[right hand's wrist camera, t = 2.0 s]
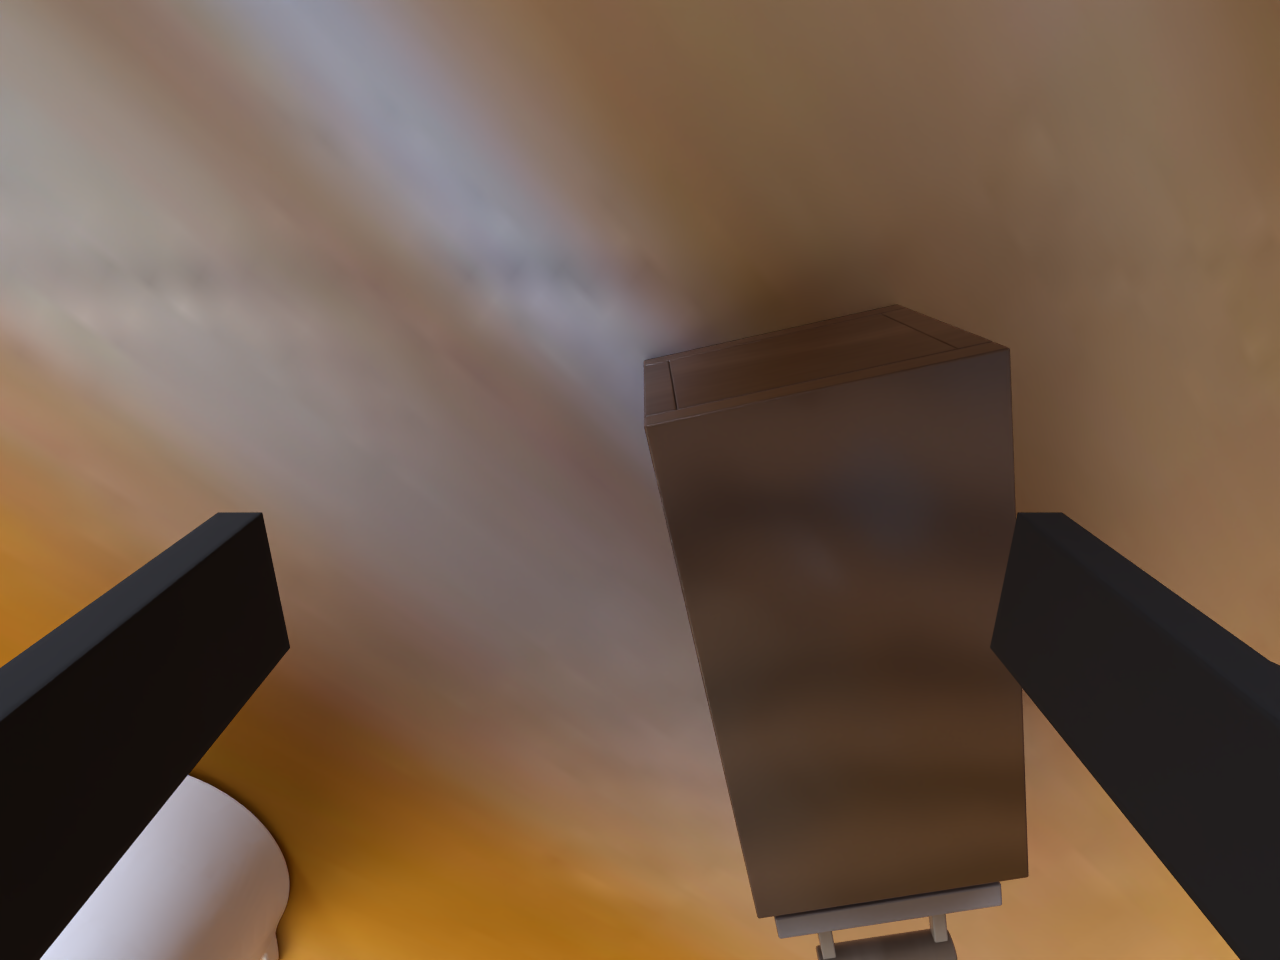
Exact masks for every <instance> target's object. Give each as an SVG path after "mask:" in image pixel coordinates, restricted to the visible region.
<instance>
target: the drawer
mask: <svg viewBox="0 0 1280 960" xmlns="http://www.w3.org/2000/svg"><path fill="white" fill-rule="evenodd" d="M1000 905H1002V897H1001V884H1000V882H992V883H986V884H979V885H973V886H966V887H960V888H953V889H947V890H940V891H934V892H927V893H921V894H914V895H908V896H901V897H895V898H888V899H882V900H875V901H869V902H862V903H856V904H849V905H843V906H836V907H830V908H823V909H817V910H810V911H804V912H797V913H791V914H784V915H778V916H774V918H775V922H776V927H777V932H778V936H779V938H781V939H782V938H788V937H795V936H802V935H808V934H815V933H818V937H819V943H820V945H819V946H816V952H817V957H818V960H957V954H956V950H955V947H954V944H953V941H952V938H951V936H950V934H949V932H948V930H947V925H946V914H947V913H954V912H960V911H967V910H974V909H980V908H987V907H993V906H1000ZM927 916H929V922H930V929H926V930H919V931H912V932H906V933H899V934H892V935H885V936H879V937H872V938H865V939H859V940H852V941H845V942H839V943H834V941H833V936H832V931H835V930H841V929H848V928H855V927H861V926H868V925H874V924H881V923H888V922H894V921H901V920H907V919H914V918H921V917H927Z"/></svg>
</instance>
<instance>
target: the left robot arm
mask: <svg viewBox="0 0 1280 960" xmlns="http://www.w3.org/2000/svg"><path fill="white" fill-rule="evenodd" d="M289 891H290V881H289V873H288V868H287V865H286V861H285V859H284V856H283V854H282V852H281V850H280V848H279V846H278V844H277V843H276V841H275V839H274V838H273V837H272V835H271V834H270V832H269V831H268V830H267V829H266V827H265V826H264V825H263V824H262V823H261V822H260V821H259V820H258V819H257V818H256V817H255V816H254V815H253V814H252V813H251V812H250V811H249V810H248V809H246V808H245V807H244V806H243V805H241V804H240V803H239V802H237V801H236V800H235V799H233V798H232V797H230V796H229V795H227V794H226V793H224V792H222V791H221V790H219V789H217V788H215V787H213V786H212V785H210V784H208V783H205V782H203V781H201V780H199V779H197V778H194V777H192V776H189V775H187V777H186V778H185V779H184V780H183V782H182V783H181V784H180V785H179V787H178V788H177V789H176V790H175V792H174V793H173V794H172V795H171V797H170V798H169V799H168V800H167V802H166V803H165V804H164V805H163V807H162V808H161V809H160V810H159V812H158V813H157V814H156V815H155V817H154V818H153V819H152V820H151V822H150V823H149V824H148V825H147V827H146V828H145V829H144V830H143V832H142V833H141V834H140V835H139V837H138V838H137V839H136V840H135V842H134V843H133V844H132V845H131V847H130V848H129V849H128V850H127V852H126V853H125V854H124V855H123V857H122V858H121V859H120V860H119V861H118V863H117V864H116V865H115V866H114V868H113V869H112V870H111V871H110V873H109V874H108V875H107V876H106V878H105V879H104V880H103V881H102V883H101V884H100V885H99V886H98V888H97V889H96V890H95V891H94V893H93V894H92V895H91V896H90V898H89V899H88V900H87V901H86V903H85V904H84V905H83V906H82V908H81V909H80V910H79V911H78V913H77V914H76V915H75V916H74V918H73V919H72V920H71V921H70V923H69V924H68V925H67V926H66V928H65V929H64V930H63V931H62V933H61V934H60V935H59V936H58V938H57V939H56V940H55V941H54V943H53V944H52V945H51V946H50V947H49V949H48V950H47V951H46V952H45V954H44V955H43V956H42V957H41V959H40V960H279V952H278V944H277V939H276V934H275V933H276V929H277V926H278V923H279V921H280V919H281V917H282V915H283V913H284V910H285V908H286V905H287V902H288V898H289Z"/></svg>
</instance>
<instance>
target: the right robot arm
mask: <svg viewBox="0 0 1280 960" xmlns="http://www.w3.org/2000/svg"><path fill="white" fill-rule="evenodd" d="M289 648H290V645H289V640H288V635H287V630H286V626H285V621H284V616H283V611H282V606H281V601H280V596H279V592H278V587H277V582H276V577H275V572H274V567H273V562H272V558H271V553H270V548H269V543H268V538H267V533H266V528H265V524H264V519H263V514H262V513H217V514H215V515H214V516H213V517H211V518H210V519H208V520H207V521H206V522H204V523H203V524H201V525H200V526H199V527H197V528H196V529H194V530H193V531H192V532H190V533H189V534H187V535H186V536H185V537H183V538H182V539H180V540H179V541H178V542H176V543H175V544H173V545H172V546H171V547H169V548H168V549H166V550H165V551H164V552H162V553H161V554H159V555H158V556H157V557H155V558H154V559H152V560H151V561H150V562H148V563H147V564H145V565H144V566H143V567H141V568H140V569H138V570H137V571H136V572H134V573H133V574H131V575H130V576H129V577H127V578H126V579H124V580H123V581H122V582H120V583H119V584H117V585H116V586H115V587H113V588H112V589H110V590H109V591H108V592H106V593H105V594H103V595H102V596H101V597H99V598H98V599H96V600H95V601H94V602H92V603H91V604H89V605H88V606H87V607H85V608H84V609H82V610H81V611H80V612H78V613H77V614H75V615H74V616H73V617H71V618H70V619H68V620H67V621H66V622H64V623H63V624H61V625H60V626H59V627H57V628H56V629H54V630H53V631H52V632H50V633H49V634H47V635H46V636H45V637H43V638H42V639H40V640H39V641H38V642H36V643H35V644H33V645H32V646H31V647H29V648H28V649H26V650H25V651H24V652H22V653H21V654H19V655H18V656H17V657H15V658H14V659H12V660H11V661H10V662H8V663H7V664H5V665H4V666H3V667H1V668H0V960H40V959H41V957H42V956H43V955H44V954H45V952H46V951H47V950H48V949H49V947H50V946H51V945H52V944H53V943H54V941H55V940H56V939H57V938H58V936H59V935H60V934H61V933H62V931H63V930H64V929H65V928H66V926H67V925H68V924H69V923H70V921H71V920H72V919H73V918H74V916H75V915H76V914H77V913H78V911H79V910H80V909H81V908H82V906H83V905H84V904H85V903H86V901H87V900H88V899H89V898H90V896H91V895H92V894H93V893H94V891H95V890H96V889H97V888H98V886H99V885H100V884H101V883H102V881H103V880H104V879H105V878H106V876H107V875H108V874H109V873H110V871H111V870H112V869H113V868H114V866H115V865H116V864H117V863H118V861H119V860H120V859H121V858H122V857H123V855H124V854H125V853H126V852H127V850H128V849H129V848H130V847H131V845H132V844H133V843H134V842H135V840H136V839H137V838H138V837H139V835H140V834H141V833H142V832H143V830H144V829H145V828H146V827H147V825H148V824H149V823H150V822H151V820H152V819H153V818H154V817H155V815H156V814H157V813H158V812H159V810H160V809H161V808H162V807H163V805H164V804H165V803H166V802H167V800H168V799H169V798H170V797H171V795H172V794H173V793H174V792H175V790H176V789H177V788H178V787H179V785H180V784H181V783H182V782H183V780H184V779H185V778H186V777H187V775H188V774H189V773H190V772H191V771H192V769H193V768H194V767H195V766H196V764H197V763H198V762H199V761H200V759H201V758H202V757H203V756H204V754H205V753H206V752H207V751H208V749H209V748H210V747H211V746H212V744H213V743H214V742H215V741H216V739H217V738H218V737H219V736H220V734H221V733H222V732H223V731H224V729H225V728H226V727H227V726H228V724H229V723H230V722H231V721H232V719H233V718H234V717H235V716H236V714H237V713H238V712H239V711H240V709H241V708H242V707H243V706H244V704H245V703H246V702H247V701H248V699H249V698H250V697H251V696H252V694H253V693H254V692H255V691H256V689H257V688H258V687H259V686H260V684H261V683H262V682H263V681H264V680H265V678H266V677H267V676H268V675H269V673H270V672H271V671H272V670H273V668H274V667H275V666H276V665H277V663H278V662H279V661H280V660H281V658H282V657H283V656H284V655H285V653H286V652H287V651H288V650H289ZM990 648H991V650H992V651H993V652H994V653H995V655H996V656H997V657H998V658H999V660H1000V661H1001V662H1002V663H1003V665H1004V666H1005V667H1006V668H1007V670H1008V671H1009V672H1010V673H1011V675H1012V676H1013V677H1014V678H1015V680H1016V681H1017V682H1018V683H1019V685H1020V686H1021V687H1022V688H1023V689H1024V691H1025V692H1026V693H1027V694H1028V696H1029V697H1030V698H1031V699H1032V701H1033V702H1034V703H1035V704H1036V706H1037V707H1038V708H1039V709H1040V711H1041V712H1042V713H1043V714H1044V716H1045V717H1046V718H1047V719H1048V721H1049V722H1050V723H1051V724H1052V726H1053V727H1054V728H1055V729H1056V731H1057V732H1058V733H1059V734H1060V736H1061V737H1062V738H1063V739H1064V741H1065V742H1066V743H1067V744H1068V746H1069V747H1070V748H1071V749H1072V751H1073V752H1074V753H1075V754H1076V756H1077V757H1078V758H1079V759H1080V761H1081V762H1082V763H1083V764H1084V766H1085V767H1086V768H1087V769H1088V771H1089V772H1090V773H1091V774H1092V775H1093V777H1094V778H1095V779H1096V780H1097V782H1098V783H1099V784H1100V785H1101V787H1102V788H1103V789H1104V790H1105V792H1106V793H1107V794H1108V795H1109V797H1110V798H1111V799H1112V800H1113V802H1114V803H1115V804H1116V805H1117V807H1118V808H1119V809H1120V810H1121V812H1122V813H1123V814H1124V815H1125V817H1126V818H1127V819H1128V820H1129V822H1130V823H1131V824H1132V825H1133V827H1134V828H1135V829H1136V830H1137V832H1138V833H1139V834H1140V835H1141V837H1142V838H1143V839H1144V840H1145V842H1146V843H1147V844H1148V845H1149V847H1150V848H1151V849H1152V850H1153V852H1154V853H1155V854H1156V855H1157V857H1158V858H1159V859H1160V860H1161V861H1162V863H1163V864H1164V865H1165V866H1166V868H1167V869H1168V870H1169V871H1170V873H1171V874H1172V875H1173V876H1174V878H1175V879H1176V880H1177V881H1178V883H1179V884H1180V885H1181V886H1182V888H1183V889H1184V890H1185V891H1186V893H1187V894H1188V895H1189V896H1190V898H1191V899H1192V900H1193V901H1194V903H1195V904H1196V905H1197V906H1198V908H1199V909H1200V910H1201V911H1202V913H1203V914H1204V915H1205V916H1206V918H1207V919H1208V920H1209V921H1210V923H1211V924H1212V925H1213V926H1214V928H1215V929H1216V930H1217V931H1218V933H1219V934H1220V935H1221V936H1222V938H1223V939H1224V940H1225V941H1226V943H1227V944H1228V945H1229V946H1230V948H1231V949H1232V950H1233V951H1234V952H1235V954H1236V955H1237V956H1238V957H1239V959H1240V960H1280V665H1277V664H1275V663H1273V662H1270V661H1269V660H1268V659H1266V658H1265V657H1263V656H1262V655H1261V654H1259V653H1258V652H1256V651H1255V650H1254V649H1252V648H1251V647H1249V646H1248V645H1247V644H1245V643H1244V642H1242V641H1241V640H1240V639H1238V638H1237V637H1235V636H1234V635H1233V634H1231V633H1230V632H1228V631H1227V630H1226V629H1224V628H1223V627H1221V626H1220V625H1219V624H1217V623H1216V622H1214V621H1213V620H1212V619H1210V618H1209V617H1207V616H1206V615H1205V614H1203V613H1202V612H1200V611H1199V610H1198V609H1196V608H1195V607H1193V606H1192V605H1191V604H1189V603H1188V602H1186V601H1185V600H1184V599H1182V598H1181V597H1179V596H1178V595H1177V594H1175V593H1174V592H1172V591H1171V590H1170V589H1168V588H1167V587H1165V586H1164V585H1163V584H1161V583H1160V582H1158V581H1157V580H1156V579H1154V578H1153V577H1151V576H1150V575H1149V574H1147V573H1146V572H1144V571H1143V570H1142V569H1140V568H1139V567H1137V566H1136V565H1135V564H1133V563H1132V562H1130V561H1129V560H1128V559H1126V558H1125V557H1123V556H1122V555H1121V554H1119V553H1118V552H1116V551H1115V550H1114V549H1112V548H1111V547H1109V546H1108V545H1107V544H1105V543H1104V542H1102V541H1101V540H1100V539H1098V538H1097V537H1095V536H1094V535H1093V534H1091V533H1090V532H1088V531H1087V530H1086V529H1084V528H1083V527H1081V526H1080V525H1079V524H1077V523H1076V522H1074V521H1073V520H1072V519H1070V518H1069V517H1067V516H1066V515H1065V514H1063V513H1018V514H1017V519H1016V524H1015V528H1014V533H1013V538H1012V543H1011V548H1010V553H1009V558H1008V562H1007V567H1006V572H1005V577H1004V582H1003V587H1002V592H1001V596H1000V601H999V606H998V611H997V616H996V621H995V626H994V630H993V635H992V640H991V645H990Z"/></svg>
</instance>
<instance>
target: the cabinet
mask: <svg viewBox="0 0 1280 960" xmlns="http://www.w3.org/2000/svg"><path fill="white" fill-rule="evenodd" d="M644 428H645V432H646V437H647V441H648V445H649V450H650V454H651V458H652V463H653V467H654V471H655V476H656V480H657V484H658V489H659V493H660V497H661V502H662V506H663V510H664V515H665V519H666V523H667V528H668V532H669V536H670V540H671V545H672V549H673V553H674V558H675V562H676V566H677V571H678V575H679V579H680V584H681V588H682V592H683V597H684V601H685V605H686V610H687V614H688V618H689V623H690V627H691V631H692V636H693V640H694V644H695V649H696V653H697V657H698V662H699V666H700V670H701V675H702V679H703V683H704V688H705V692H706V696H707V701H708V705H709V709H710V714H711V718H712V722H713V727H714V731H715V735H716V740H717V744H718V748H719V753H720V757H721V761H722V766H723V770H724V774H725V779H726V783H727V787H728V792H729V796H730V800H731V805H732V809H733V813H734V818H735V822H736V826H737V830H738V835H739V839H740V843H741V848H742V852H743V856H744V861H745V865H746V869H747V874H748V878H749V882H750V887H751V891H752V895H753V900H754V904H755V908H756V913H757V917H758V918H765V917H772V916H778V915H784V914H791V913H797V912H804V911H810V910H817V909H823V908H830V907H836V906H843V905H849V904H856V903H862V902H869V901H875V900H882V899H888V898H895V897H901V896H908V895H914V894H921V893H927V892H934V891H940V890H947V889H953V888H960V887H966V886H973V885H979V884H986V883H992V882H999V881H1005V880H1012V879H1018V878H1025V877H1028V849H1027V821H1026V792H1025V764H1024V736H1023V708H1022V687H1021V686H1020V685H1019V683H1018V682H1017V681H1016V680H1015V678H1014V677H1013V676H1012V675H1011V673H1010V672H1009V671H1008V670H1007V668H1006V667H1005V666H1004V665H1003V663H1002V662H1001V661H1000V660H999V658H998V657H997V656H996V655H995V653H994V652H993V651H992V650H991V648H990V645H991V640H992V635H993V630H994V626H995V621H996V616H997V611H998V606H999V601H1000V596H1001V592H1002V587H1003V582H1004V577H1005V572H1006V567H1007V562H1008V558H1009V553H1010V548H1011V543H1012V538H1013V533H1014V528H1015V524H1016V510H1015V482H1014V454H1013V425H1012V397H1011V369H1010V349H1009V348H1008V347H1005V346H1003V345H1000V344H997V343H995V342H992V341H990V340H988V339H985V338H983V337H980V336H977V335H975V334H972V333H970V332H967V331H964V330H962V329H959V328H957V327H954V326H952V325H949V324H946V323H944V322H941V321H939V320H936V319H934V318H931V317H928V316H926V315H923V314H921V313H918V312H915V311H913V310H910V309H908V308H905V307H902V306H900V305H893V306H888V307H884V308H879V309H875V310H870V311H866V312H861V313H857V314H852V315H848V316H843V317H839V318H834V319H829V320H825V321H820V322H816V323H811V324H807V325H802V326H798V327H793V328H789V329H784V330H780V331H775V332H771V333H766V334H762V335H757V336H753V337H748V338H744V339H739V340H735V341H730V342H726V343H721V344H717V345H712V346H708V347H703V348H699V349H694V350H690V351H685V352H681V353H676V354H672V355H667V356H663V357H658V358H654V359H649V360H645V361H644Z"/></svg>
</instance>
